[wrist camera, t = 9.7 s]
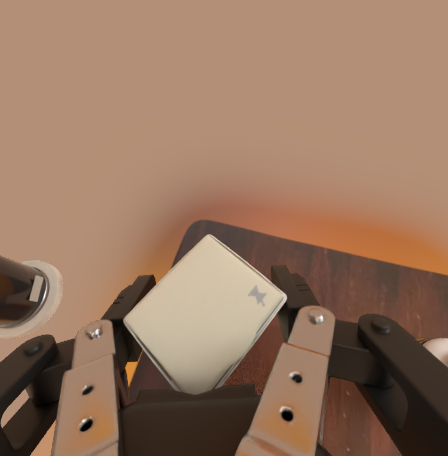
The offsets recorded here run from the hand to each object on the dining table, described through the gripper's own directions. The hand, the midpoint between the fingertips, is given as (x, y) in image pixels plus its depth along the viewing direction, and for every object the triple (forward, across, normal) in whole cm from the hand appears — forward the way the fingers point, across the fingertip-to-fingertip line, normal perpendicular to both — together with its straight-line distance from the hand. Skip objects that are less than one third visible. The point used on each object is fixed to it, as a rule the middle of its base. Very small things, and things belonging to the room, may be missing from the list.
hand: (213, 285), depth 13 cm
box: (+4, 0, +6) cm, 8 cm away
